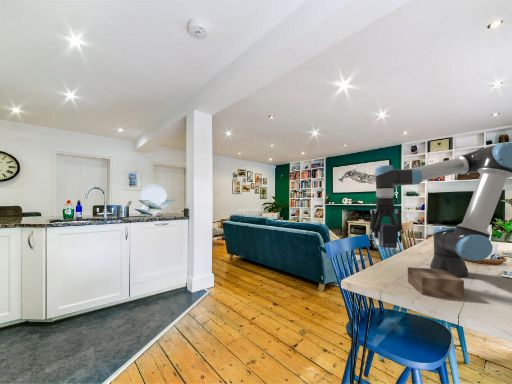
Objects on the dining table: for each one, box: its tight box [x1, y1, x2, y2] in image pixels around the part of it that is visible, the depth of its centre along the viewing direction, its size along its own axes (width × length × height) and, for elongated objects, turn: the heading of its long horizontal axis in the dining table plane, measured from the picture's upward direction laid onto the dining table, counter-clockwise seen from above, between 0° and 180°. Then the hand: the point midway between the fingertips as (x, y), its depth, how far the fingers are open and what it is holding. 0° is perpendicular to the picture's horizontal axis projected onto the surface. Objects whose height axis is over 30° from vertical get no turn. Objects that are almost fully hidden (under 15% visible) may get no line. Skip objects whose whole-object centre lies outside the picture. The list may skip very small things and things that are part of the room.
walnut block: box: [407, 266, 465, 299], centre depth 97 cm, size 14×14×7 cm
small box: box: [378, 222, 398, 249], centre depth 113 cm, size 11×6×10 cm, turn 169°
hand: (386, 245), depth 112 cm, fingers closed on small box, 7 cm apart
